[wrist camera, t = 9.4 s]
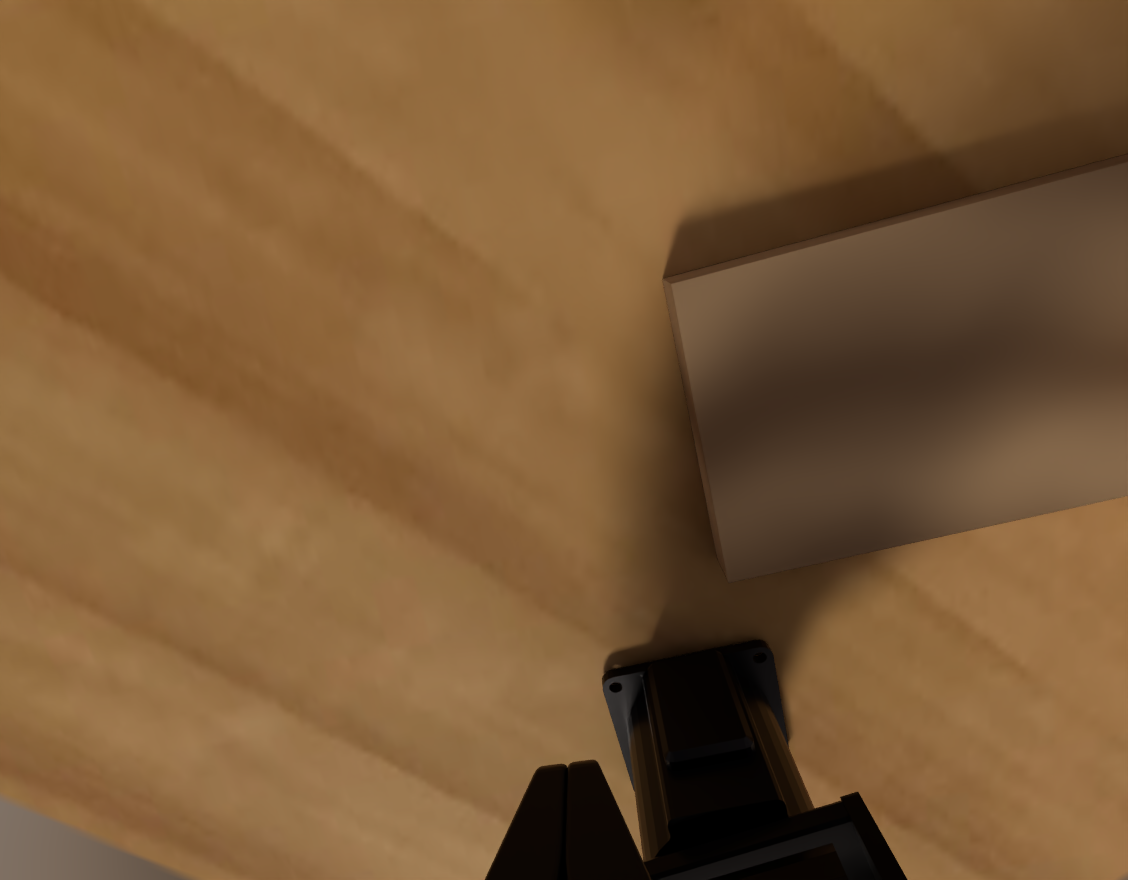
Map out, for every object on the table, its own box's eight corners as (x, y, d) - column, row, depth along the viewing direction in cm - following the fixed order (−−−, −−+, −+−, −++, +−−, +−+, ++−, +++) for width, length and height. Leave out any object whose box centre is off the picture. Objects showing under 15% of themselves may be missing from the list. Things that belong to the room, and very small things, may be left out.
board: (1130, 466, 19) (1174, 485, 18) (717, 558, 21) (728, 583, 19) (1160, 144, 16) (1218, 137, 15) (662, 278, 17) (671, 284, 16)
